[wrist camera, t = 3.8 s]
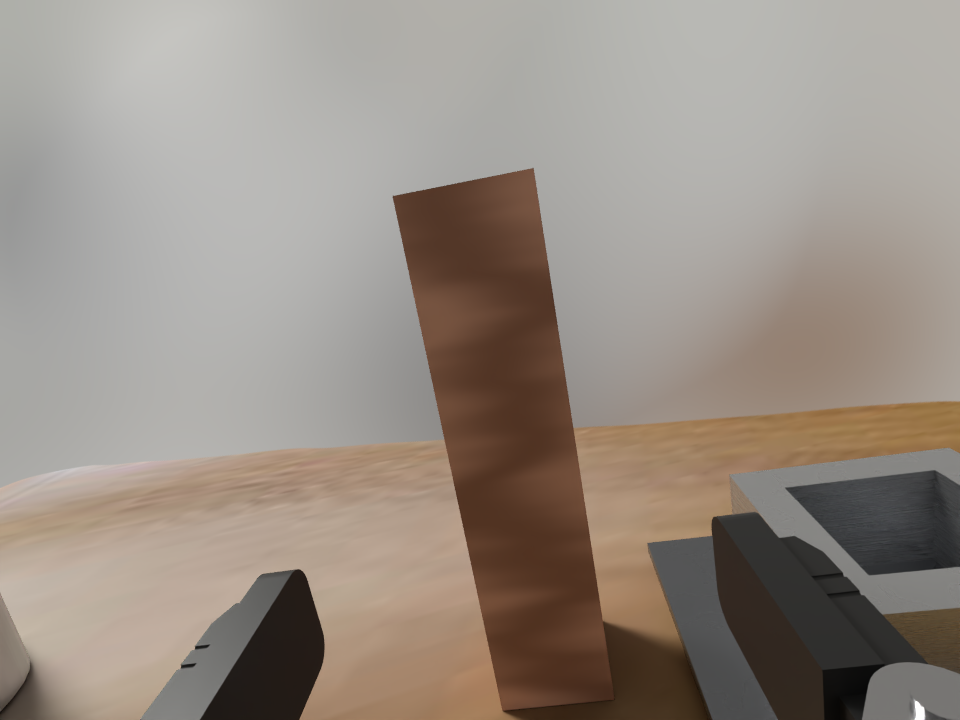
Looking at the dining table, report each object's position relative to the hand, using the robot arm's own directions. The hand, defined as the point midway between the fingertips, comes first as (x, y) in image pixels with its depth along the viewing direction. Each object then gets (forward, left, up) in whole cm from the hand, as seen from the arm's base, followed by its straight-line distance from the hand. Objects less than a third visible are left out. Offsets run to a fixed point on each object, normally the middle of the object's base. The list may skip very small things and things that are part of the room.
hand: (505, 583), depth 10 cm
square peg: (-7, +5, -10) cm, 13 cm away
